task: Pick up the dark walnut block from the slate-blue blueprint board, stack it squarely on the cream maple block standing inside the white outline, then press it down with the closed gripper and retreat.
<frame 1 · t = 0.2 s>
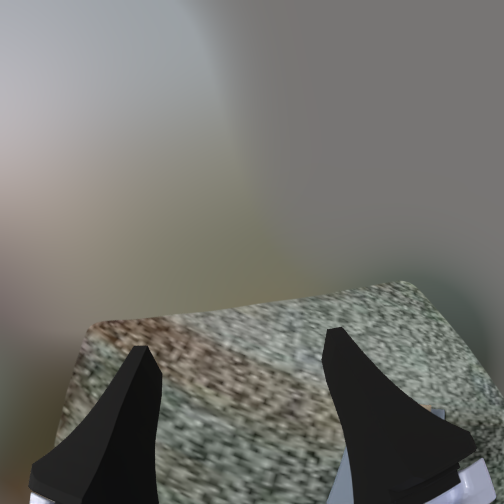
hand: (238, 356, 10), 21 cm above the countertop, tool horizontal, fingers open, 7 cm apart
blueprint board: (390, 474, 18), on the countertop
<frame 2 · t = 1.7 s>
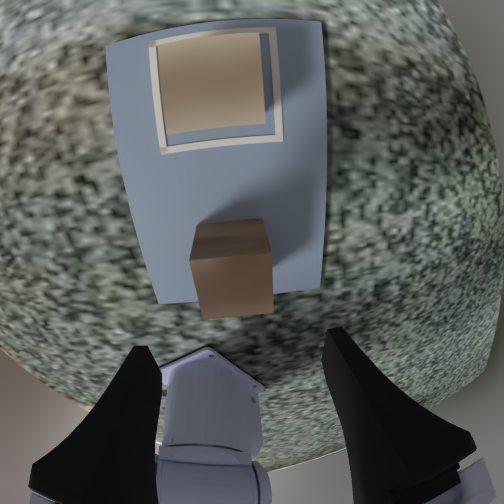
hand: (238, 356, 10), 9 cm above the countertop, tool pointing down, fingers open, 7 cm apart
blueprint board: (224, 170, 16), on the countertop
maple block: (215, 86, 12), point 1 cm above the countertop, touching blueprint board
walnut block: (232, 249, 18), point 1 cm above the countertop, touching blueprint board
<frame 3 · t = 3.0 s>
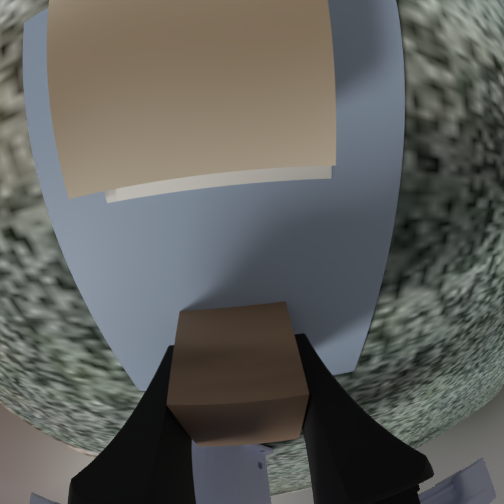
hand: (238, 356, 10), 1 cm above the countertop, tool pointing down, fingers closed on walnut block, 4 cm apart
blueprint board: (221, 226, 9), on the countertop
maple block: (202, 69, 6), point 1 cm above the countertop, touching blueprint board
walnut block: (237, 341, 11), point 1 cm above the countertop, touching blueprint board, gripper
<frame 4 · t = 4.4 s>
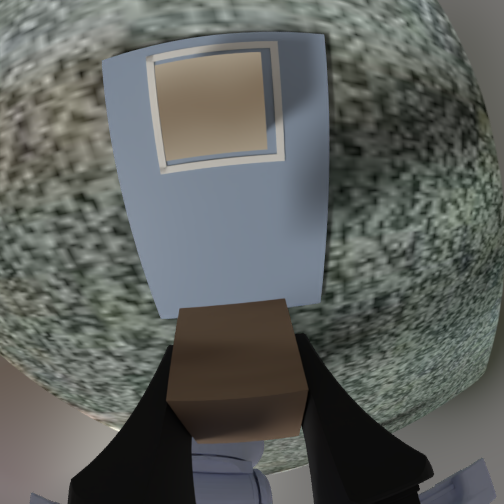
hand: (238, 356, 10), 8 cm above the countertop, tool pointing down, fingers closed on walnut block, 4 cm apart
blueprint board: (225, 190, 16), on the countertop
maple block: (215, 104, 13), point 1 cm above the countertop, touching blueprint board
walnut block: (237, 338, 11), point 8 cm above the countertop, touching gripper
when the fingers open (6 cm above the countertop, at t = 5.9 s): walnut block stays where it is, resting on maple block.
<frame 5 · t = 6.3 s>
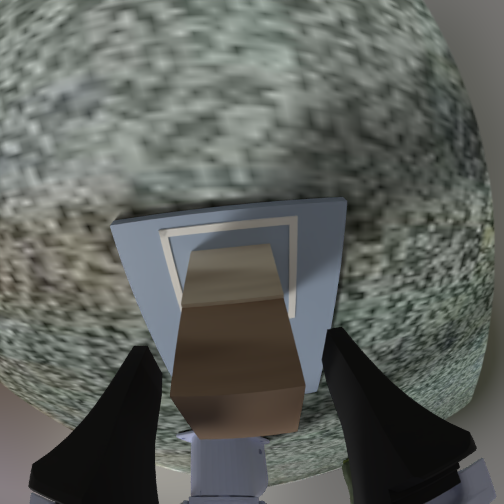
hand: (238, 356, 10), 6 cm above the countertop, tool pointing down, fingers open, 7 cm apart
blueprint board: (241, 332, 18), on the countertop
maple block: (234, 279, 15), point 1 cm above the countertop, touching blueprint board, walnut block
walnut block: (237, 337, 12), point 5 cm above the countertop, touching maple block
vegetable: (348, 456, 44), on the countertop
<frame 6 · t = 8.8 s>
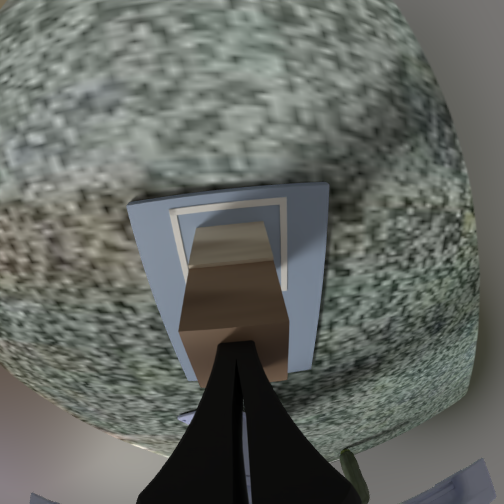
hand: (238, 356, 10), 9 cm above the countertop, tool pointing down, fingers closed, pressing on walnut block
blueprint board: (239, 306, 20), on the countertop
maple block: (232, 253, 17), point 1 cm above the countertop, touching blueprint board, walnut block
walnut block: (235, 297, 14), point 5 cm above the countertop, touching gripper, maple block
vegetable: (346, 447, 46), on the countertop
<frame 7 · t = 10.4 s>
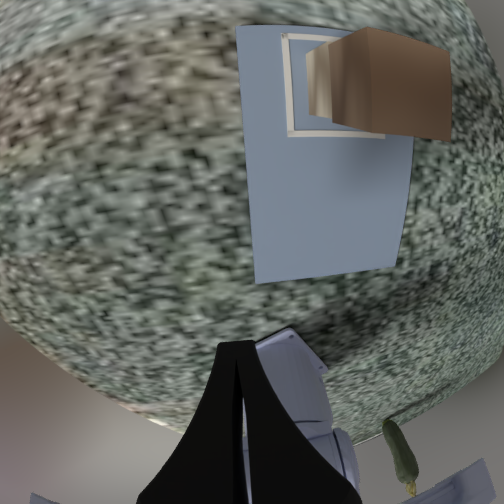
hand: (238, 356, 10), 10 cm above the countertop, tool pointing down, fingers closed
blueprint board: (336, 158, 17), on the countertop
maple block: (338, 85, 14), point 1 cm above the countertop, touching blueprint board, walnut block
walnut block: (368, 86, 11), point 5 cm above the countertop, touching maple block
vegetable: (388, 416, 42), on the countertop
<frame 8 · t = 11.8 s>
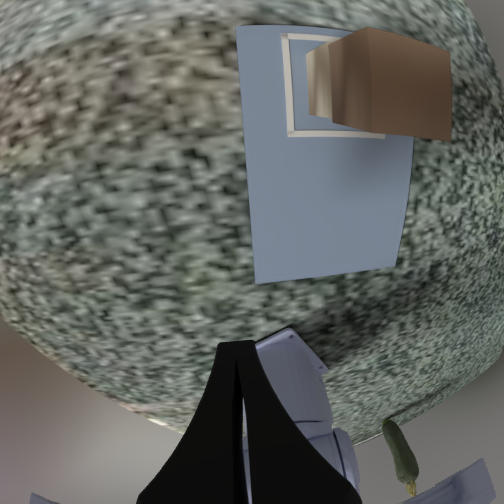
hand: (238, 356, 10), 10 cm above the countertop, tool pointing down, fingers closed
blueprint board: (336, 158, 17), on the countertop
maple block: (338, 85, 14), point 1 cm above the countertop, touching blueprint board, walnut block
walnut block: (368, 86, 11), point 5 cm above the countertop, touching maple block
vegetable: (388, 416, 42), on the countertop
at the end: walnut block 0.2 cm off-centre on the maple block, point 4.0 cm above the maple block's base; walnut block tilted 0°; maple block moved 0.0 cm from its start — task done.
